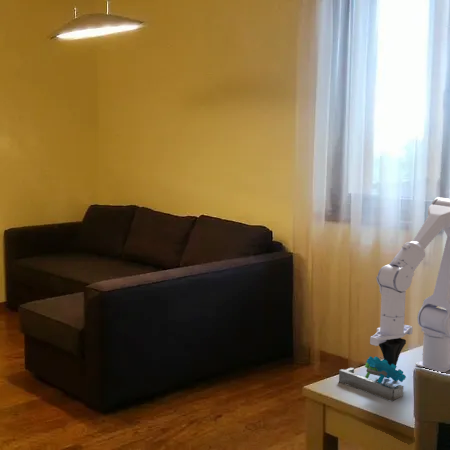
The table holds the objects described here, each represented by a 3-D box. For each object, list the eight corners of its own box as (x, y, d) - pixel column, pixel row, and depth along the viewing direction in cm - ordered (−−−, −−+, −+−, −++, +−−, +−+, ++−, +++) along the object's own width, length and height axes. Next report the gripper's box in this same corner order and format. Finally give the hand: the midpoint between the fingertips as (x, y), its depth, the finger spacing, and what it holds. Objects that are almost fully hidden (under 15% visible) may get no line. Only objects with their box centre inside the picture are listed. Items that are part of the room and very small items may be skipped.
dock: (350, 377, 172) (351, 365, 171) (402, 396, 160) (403, 384, 159) (338, 381, 169) (339, 370, 168) (391, 401, 157) (391, 388, 157)
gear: (414, 380, 165) (392, 357, 161) (404, 401, 163) (381, 378, 159) (380, 372, 174) (358, 350, 170) (369, 392, 172) (347, 370, 168)
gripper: (396, 305, 174) (394, 356, 176) (360, 315, 165) (358, 369, 167) (420, 311, 169) (418, 363, 171) (384, 322, 160) (382, 377, 162)
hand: (390, 367), depth 169 cm, fingers closed
